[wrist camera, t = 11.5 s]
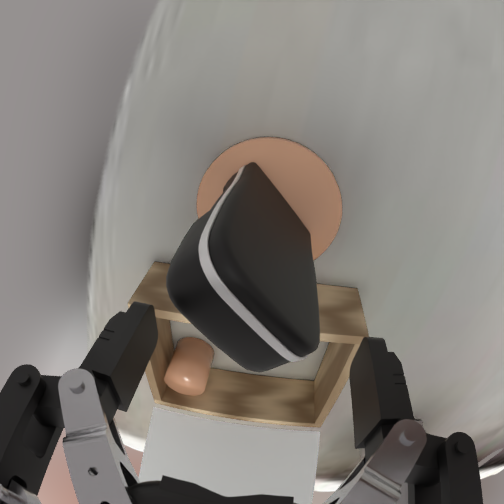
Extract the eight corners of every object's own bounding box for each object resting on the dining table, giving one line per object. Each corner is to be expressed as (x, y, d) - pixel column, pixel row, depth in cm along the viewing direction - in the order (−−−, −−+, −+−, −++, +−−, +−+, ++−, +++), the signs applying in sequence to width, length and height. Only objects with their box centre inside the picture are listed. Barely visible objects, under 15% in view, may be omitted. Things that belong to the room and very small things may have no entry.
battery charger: (208, 188, 20) (136, 296, 11) (252, 155, 19) (209, 244, 9) (270, 261, 23) (253, 394, 13) (313, 235, 21) (327, 368, 12)
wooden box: (357, 288, 24) (368, 337, 20) (319, 385, 32) (320, 427, 27) (154, 261, 25) (127, 303, 20) (169, 364, 33) (155, 402, 28)
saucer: (352, 149, 19) (355, 151, 18) (325, 274, 24) (326, 280, 23) (201, 131, 19) (198, 133, 18) (199, 257, 24) (197, 263, 24)
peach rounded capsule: (214, 340, 29) (204, 376, 26) (214, 364, 32) (205, 398, 28) (175, 334, 30) (161, 368, 26) (178, 358, 32) (167, 390, 28)
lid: (303, 552, 18) (301, 549, 19) (320, 431, 26) (318, 432, 27) (130, 524, 19) (133, 522, 20) (153, 406, 27) (156, 408, 28)
